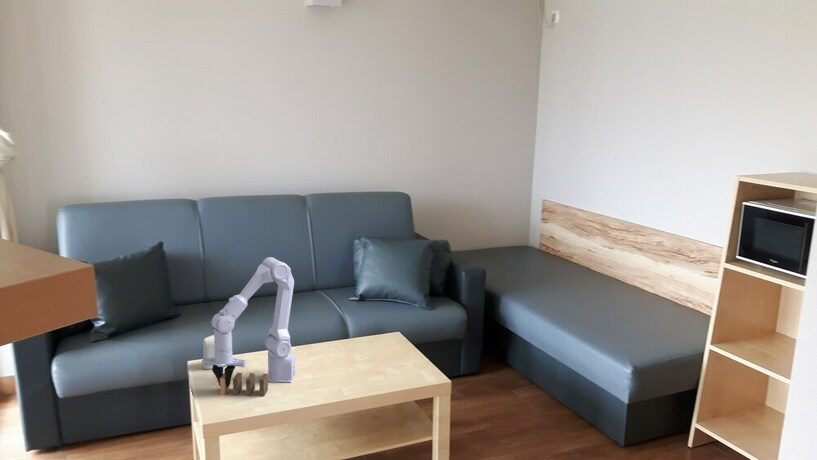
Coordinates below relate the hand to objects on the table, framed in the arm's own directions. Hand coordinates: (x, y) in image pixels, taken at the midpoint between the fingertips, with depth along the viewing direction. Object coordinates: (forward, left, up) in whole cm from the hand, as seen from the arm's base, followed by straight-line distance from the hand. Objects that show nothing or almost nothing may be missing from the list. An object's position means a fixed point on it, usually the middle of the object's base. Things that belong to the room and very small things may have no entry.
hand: (224, 385), depth 212 cm
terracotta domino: (0, 0, -2) cm, 2 cm away
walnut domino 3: (-14, 0, -2) cm, 14 cm away
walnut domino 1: (-4, 0, -2) cm, 5 cm away
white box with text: (+10, -20, -2) cm, 23 cm away
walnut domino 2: (-9, 0, -2) cm, 9 cm away
